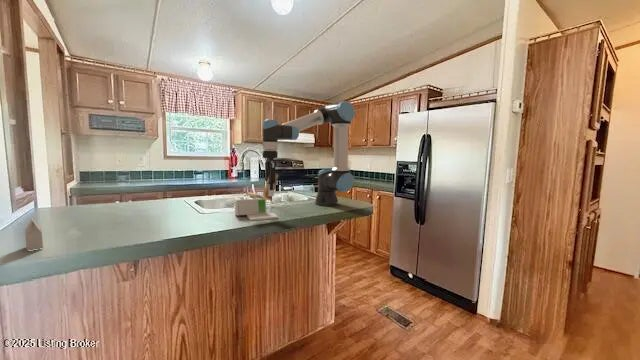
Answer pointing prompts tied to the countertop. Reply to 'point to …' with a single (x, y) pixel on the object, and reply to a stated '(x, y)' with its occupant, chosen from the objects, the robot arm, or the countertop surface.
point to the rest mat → (262, 216)
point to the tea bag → (33, 236)
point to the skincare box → (250, 206)
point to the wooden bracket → (265, 190)
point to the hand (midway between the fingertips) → (269, 195)
